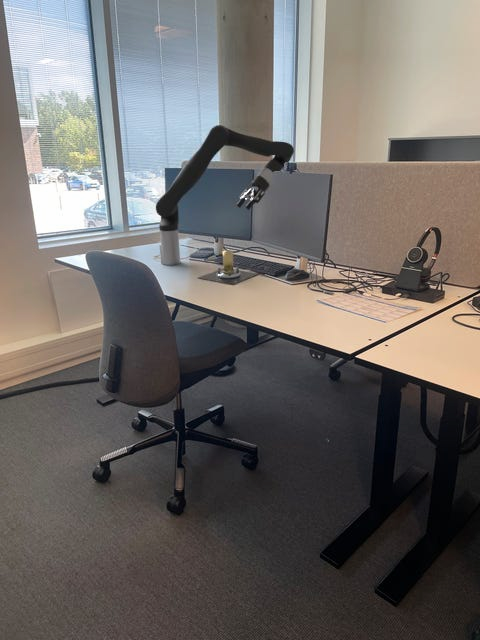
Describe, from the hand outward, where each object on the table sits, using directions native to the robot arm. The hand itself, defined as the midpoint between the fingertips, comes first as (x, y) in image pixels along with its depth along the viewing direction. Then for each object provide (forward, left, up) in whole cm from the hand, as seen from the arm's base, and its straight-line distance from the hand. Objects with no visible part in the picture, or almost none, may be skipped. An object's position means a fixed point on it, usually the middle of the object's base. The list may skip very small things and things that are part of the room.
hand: (242, 207), depth 209 cm
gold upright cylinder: (+1, -13, -28) cm, 31 cm away
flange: (+1, -13, -29) cm, 32 cm away
